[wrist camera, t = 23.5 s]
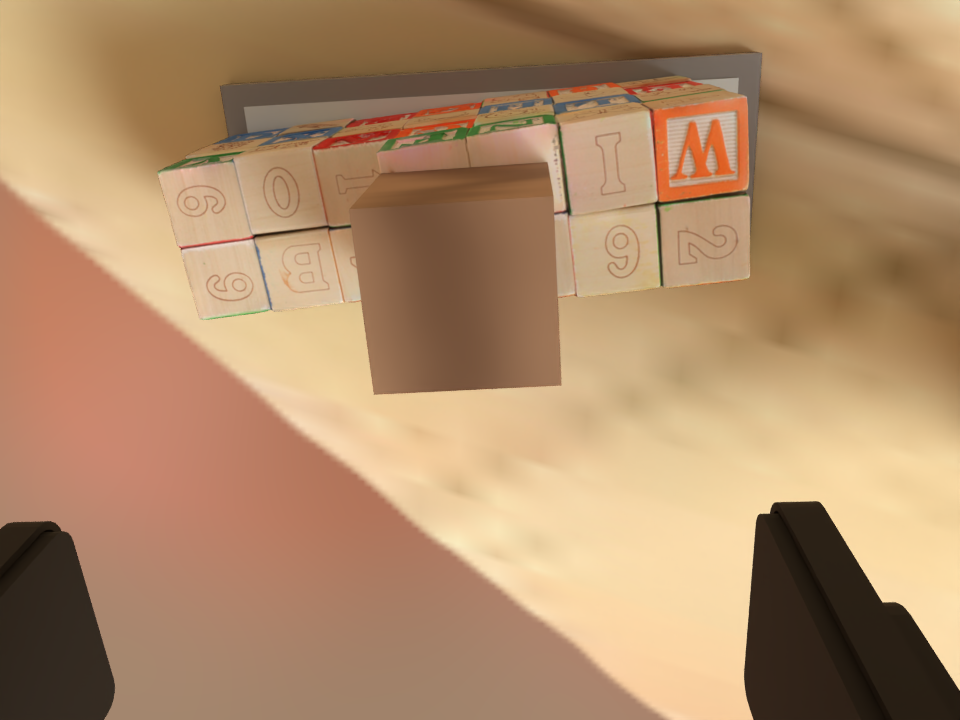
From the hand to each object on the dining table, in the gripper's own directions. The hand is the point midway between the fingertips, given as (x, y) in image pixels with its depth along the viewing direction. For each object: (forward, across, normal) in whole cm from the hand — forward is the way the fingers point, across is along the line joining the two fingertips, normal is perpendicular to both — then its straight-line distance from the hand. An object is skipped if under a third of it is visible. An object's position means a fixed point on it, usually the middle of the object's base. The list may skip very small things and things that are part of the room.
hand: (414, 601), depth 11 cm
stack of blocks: (+31, +1, 0) cm, 31 cm away
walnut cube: (+19, 0, 0) cm, 19 cm away
